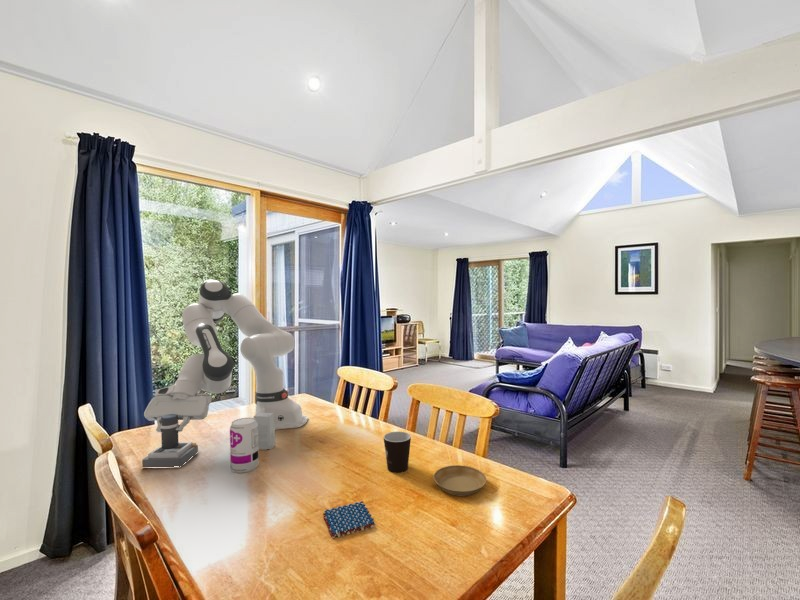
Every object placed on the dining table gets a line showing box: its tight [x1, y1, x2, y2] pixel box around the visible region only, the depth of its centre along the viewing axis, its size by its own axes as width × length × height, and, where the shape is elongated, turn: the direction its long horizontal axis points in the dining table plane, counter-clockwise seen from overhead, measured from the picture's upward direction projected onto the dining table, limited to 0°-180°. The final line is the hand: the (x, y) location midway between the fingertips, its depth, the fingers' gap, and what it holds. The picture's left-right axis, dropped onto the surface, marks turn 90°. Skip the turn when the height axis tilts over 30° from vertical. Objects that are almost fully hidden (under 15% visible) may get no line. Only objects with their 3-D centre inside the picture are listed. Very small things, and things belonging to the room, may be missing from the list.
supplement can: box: [229, 417, 260, 474], centre depth 119 cm, size 8×8×15 cm
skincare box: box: [253, 413, 276, 450], centre depth 135 cm, size 6×4×12 cm
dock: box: [141, 441, 199, 467], centre depth 125 cm, size 12×11×4 cm
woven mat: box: [322, 500, 376, 539], centre depth 90 cm, size 10×11×2 cm
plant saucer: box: [433, 464, 487, 497], centre depth 106 cm, size 15×15×3 cm
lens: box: [160, 414, 179, 449], centre depth 125 cm, size 5×5×10 cm
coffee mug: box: [383, 431, 412, 474], centre depth 118 cm, size 12×9×10 cm
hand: (168, 431), depth 124 cm, fingers closed on lens, 5 cm apart
